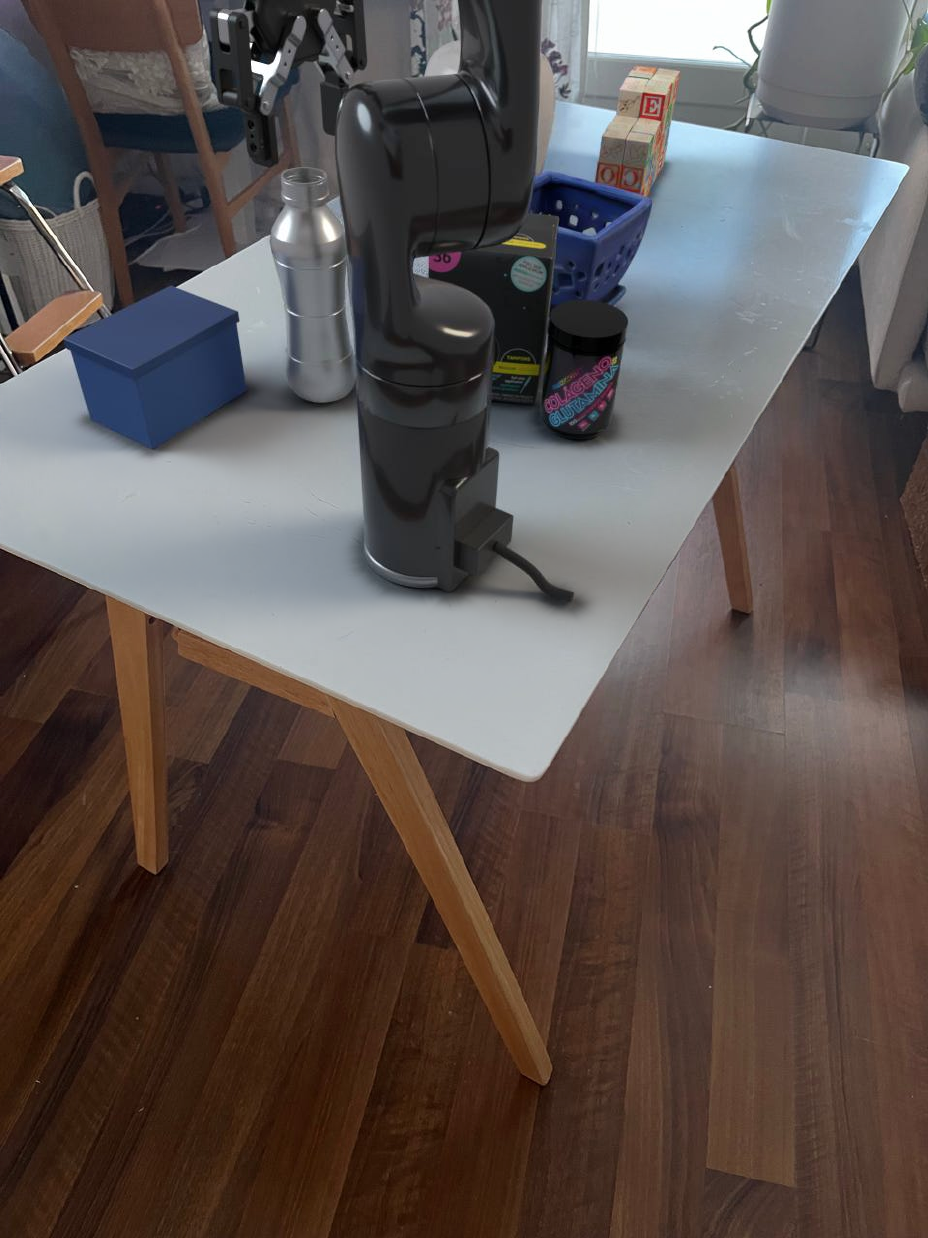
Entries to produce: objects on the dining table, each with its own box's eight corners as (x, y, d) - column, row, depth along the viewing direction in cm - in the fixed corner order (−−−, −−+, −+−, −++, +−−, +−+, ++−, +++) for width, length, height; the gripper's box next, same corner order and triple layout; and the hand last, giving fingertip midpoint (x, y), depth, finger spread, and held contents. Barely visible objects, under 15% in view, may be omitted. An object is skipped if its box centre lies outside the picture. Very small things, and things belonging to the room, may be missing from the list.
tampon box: (424, 394, 90) (424, 243, 79) (439, 347, 96) (442, 202, 86) (538, 407, 89) (553, 255, 78) (545, 358, 95) (561, 212, 85)
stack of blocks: (637, 218, 121) (654, 115, 112) (590, 211, 122) (603, 108, 114) (664, 163, 136) (681, 68, 127) (622, 157, 137) (635, 62, 128)
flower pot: (582, 354, 96) (598, 239, 88) (474, 317, 101) (479, 205, 92) (638, 306, 104) (657, 196, 96) (534, 273, 109) (544, 166, 100)
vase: (542, 197, 125) (560, -3, 109) (547, 248, 114) (568, 33, 98) (424, 192, 125) (424, -9, 109) (417, 242, 114) (417, 26, 98)
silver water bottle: (347, 415, 87) (332, 194, 72) (277, 405, 87) (249, 185, 73) (366, 380, 91) (356, 165, 77) (299, 371, 92) (277, 156, 78)
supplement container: (524, 424, 87) (534, 319, 79) (563, 394, 90) (576, 292, 83) (585, 451, 84) (602, 345, 76) (624, 419, 88) (643, 316, 80)
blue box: (250, 390, 89) (238, 311, 83) (152, 451, 82) (132, 368, 76) (186, 363, 92) (171, 284, 86) (87, 419, 85) (62, 338, 79)
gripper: (249, -89, 56) (278, 187, 68) (390, -114, 65) (394, 135, 77) (160, -105, 59) (202, 163, 71) (307, -127, 68) (323, 115, 79)
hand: (302, 148), depth 74 cm, fingers open, 8 cm apart
